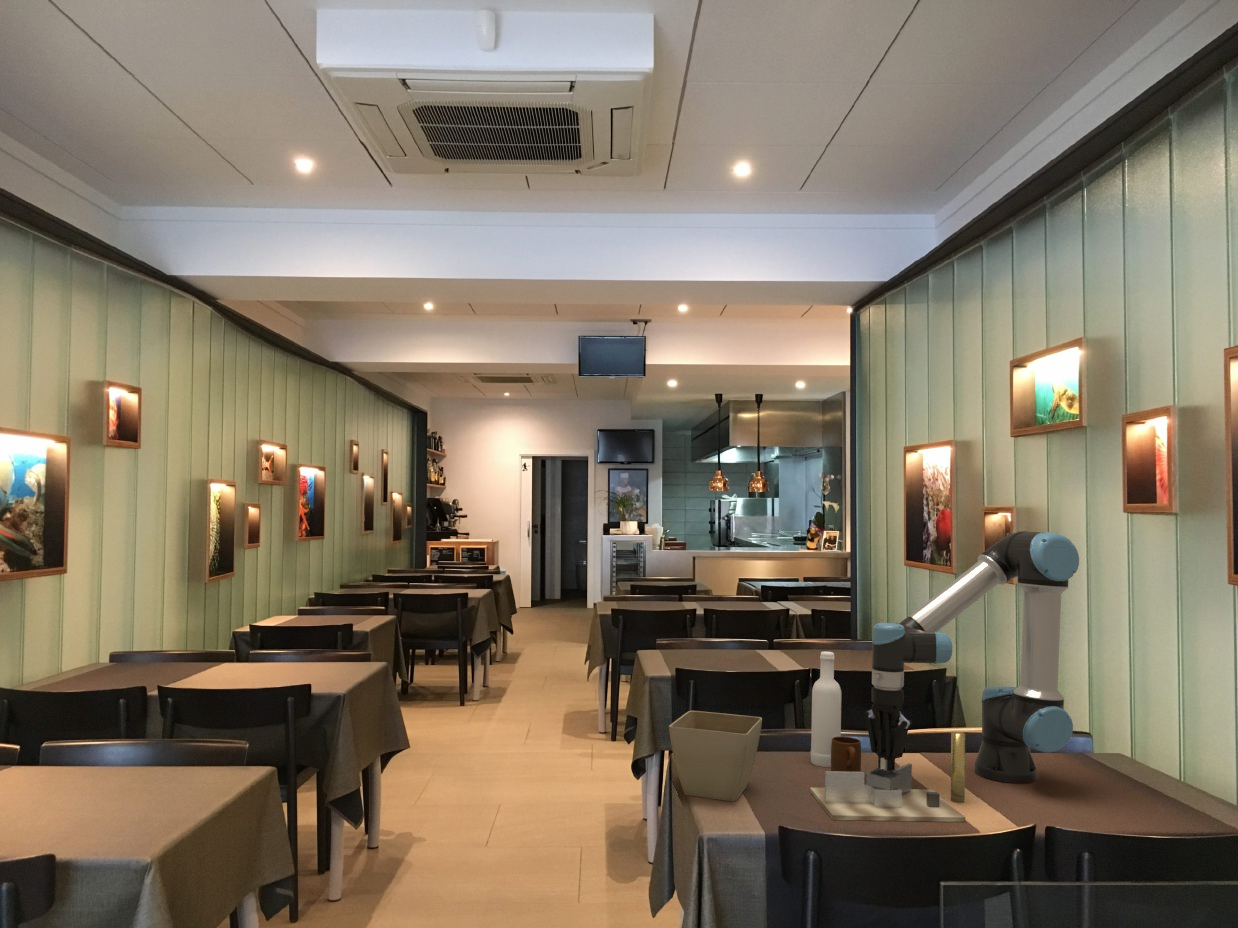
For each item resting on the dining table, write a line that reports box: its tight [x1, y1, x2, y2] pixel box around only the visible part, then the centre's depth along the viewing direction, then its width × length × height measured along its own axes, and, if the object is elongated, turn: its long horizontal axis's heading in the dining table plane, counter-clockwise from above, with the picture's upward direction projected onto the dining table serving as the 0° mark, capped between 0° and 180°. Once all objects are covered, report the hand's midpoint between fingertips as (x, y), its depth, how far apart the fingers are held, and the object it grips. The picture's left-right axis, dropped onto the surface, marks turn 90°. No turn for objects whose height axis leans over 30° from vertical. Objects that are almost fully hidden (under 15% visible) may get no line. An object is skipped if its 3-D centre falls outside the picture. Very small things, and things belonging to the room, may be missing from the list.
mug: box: [830, 736, 862, 772], centre depth 233 cm, size 12×8×9 cm, turn 179°
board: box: [809, 787, 967, 823], centre depth 212 cm, size 30×20×1 cm, turn 92°
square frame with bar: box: [864, 763, 913, 794], centre depth 215 cm, size 17×6×6 cm, turn 137°
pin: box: [950, 731, 966, 804], centre depth 218 cm, size 3×3×16 cm
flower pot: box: [668, 710, 763, 802], centre depth 220 cm, size 19×19×17 cm
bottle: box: [810, 651, 842, 768], centre depth 247 cm, size 8×8×30 cm
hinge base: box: [824, 770, 941, 808], centre depth 211 cm, size 26×6×7 cm, turn 92°
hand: (886, 784), depth 221 cm, fingers closed
